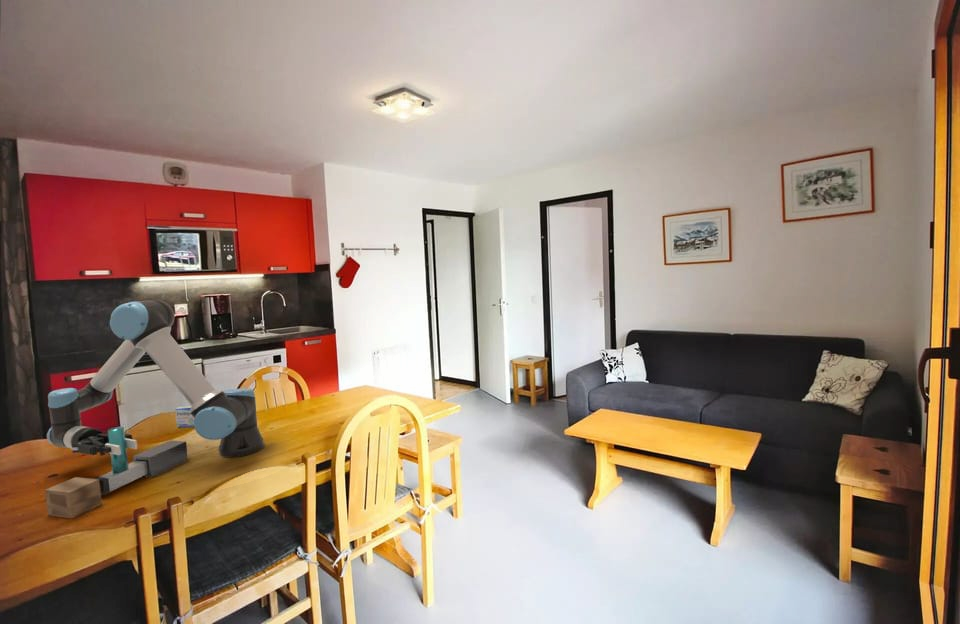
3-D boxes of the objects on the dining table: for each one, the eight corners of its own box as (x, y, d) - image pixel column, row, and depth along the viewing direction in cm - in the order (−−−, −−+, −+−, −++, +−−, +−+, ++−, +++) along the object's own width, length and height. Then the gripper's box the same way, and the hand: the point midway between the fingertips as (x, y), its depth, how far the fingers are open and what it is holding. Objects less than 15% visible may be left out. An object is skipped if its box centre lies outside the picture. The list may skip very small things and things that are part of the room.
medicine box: (176, 428, 203) (174, 408, 202) (181, 424, 208) (179, 405, 207) (196, 426, 205) (194, 407, 204) (200, 423, 209) (198, 404, 208)
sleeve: (172, 459, 169) (170, 440, 168) (187, 460, 167) (186, 441, 167) (135, 476, 156) (133, 456, 155) (152, 477, 154) (149, 457, 153)
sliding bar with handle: (161, 461, 164) (156, 412, 162) (172, 462, 163) (166, 413, 161) (93, 493, 141) (86, 436, 140) (104, 494, 140) (97, 437, 139)
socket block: (78, 501, 139) (75, 477, 139) (101, 504, 137) (98, 479, 137) (48, 515, 132) (44, 489, 131) (72, 518, 130) (69, 492, 129)
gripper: (114, 440, 162) (157, 449, 152) (53, 460, 146) (97, 470, 137) (112, 419, 161) (155, 426, 152) (50, 436, 146) (94, 446, 136)
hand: (127, 447), depth 144 cm, fingers closed on sliding bar with handle, 4 cm apart
